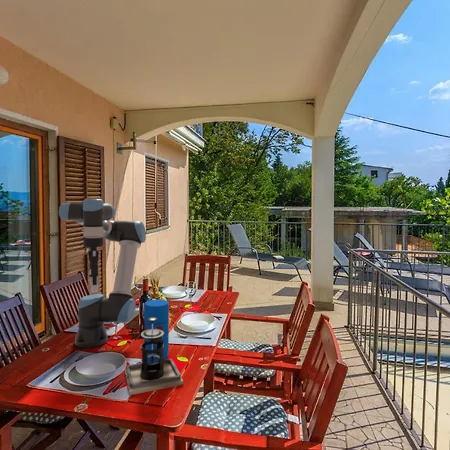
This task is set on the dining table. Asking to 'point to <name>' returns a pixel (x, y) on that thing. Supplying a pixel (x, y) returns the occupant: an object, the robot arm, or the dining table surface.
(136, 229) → the robot arm
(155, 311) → the thermos
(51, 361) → the dining table surface
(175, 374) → the board
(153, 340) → the french press
